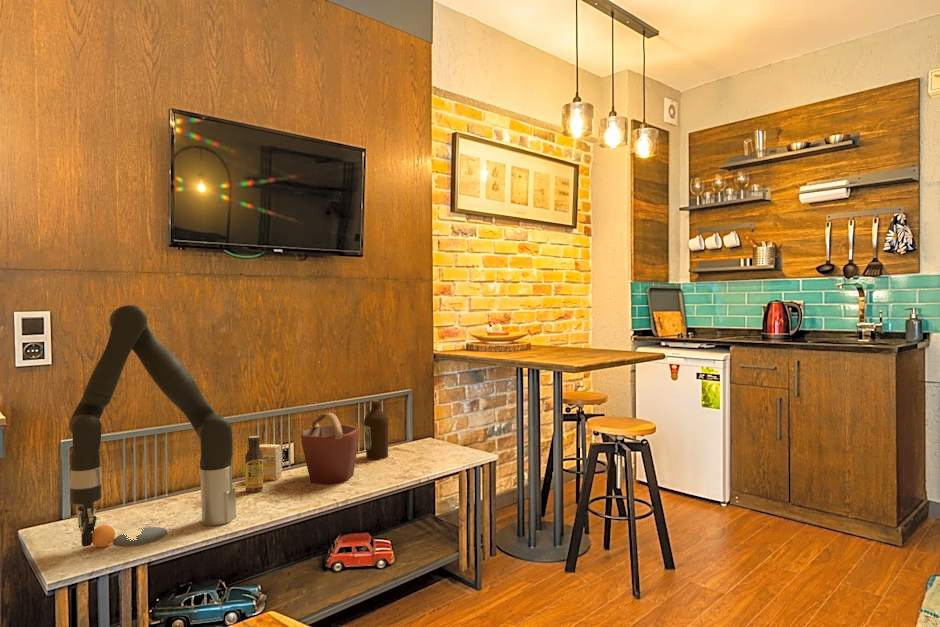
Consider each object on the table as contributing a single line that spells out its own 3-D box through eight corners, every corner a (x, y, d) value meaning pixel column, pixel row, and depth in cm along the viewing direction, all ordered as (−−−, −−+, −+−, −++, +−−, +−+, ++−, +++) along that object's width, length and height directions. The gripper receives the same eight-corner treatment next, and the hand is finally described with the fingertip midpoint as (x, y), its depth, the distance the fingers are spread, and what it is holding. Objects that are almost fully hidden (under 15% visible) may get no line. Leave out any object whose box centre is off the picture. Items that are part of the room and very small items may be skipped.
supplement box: (256, 480, 234) (255, 446, 234) (262, 476, 239) (261, 443, 238) (276, 480, 233) (275, 446, 232) (282, 476, 237) (281, 443, 237)
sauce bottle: (248, 494, 216) (245, 439, 216) (243, 490, 221) (241, 436, 221) (266, 490, 220) (264, 436, 220) (261, 486, 225) (259, 434, 225)
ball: (90, 553, 170) (114, 548, 174) (94, 541, 168) (118, 536, 172) (87, 535, 174) (110, 530, 178) (91, 523, 171) (115, 518, 175)
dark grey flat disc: (175, 527, 186) (175, 526, 186) (150, 545, 172) (150, 545, 172) (131, 528, 186) (131, 527, 186) (102, 546, 172) (102, 546, 172)
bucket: (301, 473, 242) (299, 411, 242) (356, 466, 249) (354, 406, 248) (304, 490, 219) (301, 422, 218) (365, 483, 226) (363, 416, 225)
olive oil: (384, 452, 271) (382, 397, 270) (393, 457, 261) (391, 400, 261) (361, 456, 266) (359, 399, 265) (369, 461, 256) (367, 403, 256)
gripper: (106, 486, 167) (107, 548, 167) (95, 476, 177) (96, 535, 177) (75, 491, 162) (75, 556, 162) (65, 482, 172) (66, 542, 172)
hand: (86, 545), depth 170 cm, fingers closed
